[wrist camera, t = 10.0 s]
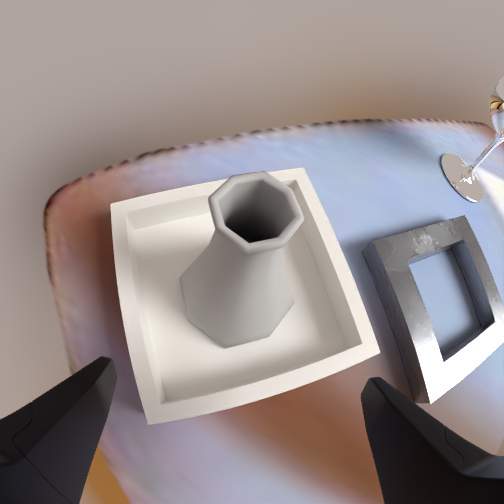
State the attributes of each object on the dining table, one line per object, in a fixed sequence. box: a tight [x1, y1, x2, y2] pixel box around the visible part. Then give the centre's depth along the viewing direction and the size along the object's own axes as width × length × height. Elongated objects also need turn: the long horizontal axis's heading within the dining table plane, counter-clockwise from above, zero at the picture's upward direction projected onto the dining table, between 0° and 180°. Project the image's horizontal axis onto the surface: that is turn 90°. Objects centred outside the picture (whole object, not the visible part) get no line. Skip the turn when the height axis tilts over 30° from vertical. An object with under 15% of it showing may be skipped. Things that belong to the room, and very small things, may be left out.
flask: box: [179, 171, 305, 349], centre depth 14 cm, size 7×7×10 cm
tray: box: [111, 168, 380, 425], centre depth 18 cm, size 14×14×3 cm
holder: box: [362, 215, 504, 403], centre depth 20 cm, size 13×13×2 cm
